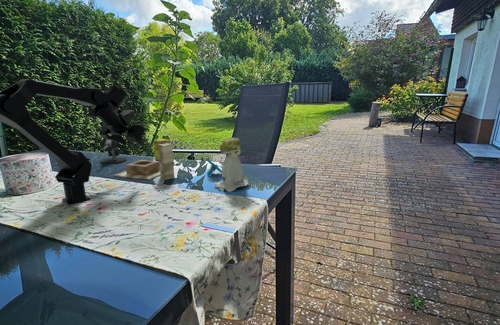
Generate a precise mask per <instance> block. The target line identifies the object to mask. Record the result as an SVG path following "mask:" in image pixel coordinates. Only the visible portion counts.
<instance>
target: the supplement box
mask: <svg viewBox="0 0 500 325" xmlns="http://www.w3.org/2000/svg"><path fill="white" fill-rule="evenodd" d="M170 141H171V140H170V139H168V138H167V139H166V138H162V139H161V138H160V139H154V140H153V148H154V149H153V150H154V161H159V151H158V145H159V144H166V143H167V144H171V142H170Z"/></svg>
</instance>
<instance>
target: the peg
mask: <svg viewBox="0 0 500 325" xmlns="http://www.w3.org/2000/svg"><path fill="white" fill-rule="evenodd" d="M173 150H174V149H173V144H172V143H170V144H167V143H166V144H159V145H158V151H159V163H160V178H161V179H162V180H171V179H174V178H175V168H174V165H175V164H174V152H173Z"/></svg>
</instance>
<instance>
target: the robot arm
mask: <svg viewBox="0 0 500 325" xmlns="http://www.w3.org/2000/svg"><path fill="white" fill-rule="evenodd" d="M35 96H42V97H49V98H56V99H57V98H58V99H63V100H69V101H72V102H74V103H77V104H78V105H79V104H80V105H83V106H92V108H89V109H88V110H89V111H88V117H89V118H98V119H99V120H100V121H101V122H102V127H101V129H100V130H99V135H100V137H101V138H102V139H104V138H106V139H107V140H112V141H115V142H117V144H120V145H123V146H127V145H128V143H127V141H126V140H125V138H124V137H123V135H122V134H126V138H128V139H129V141H130V142H132V143H134V144H136V145H138V146H140V147H142V148H144V147H145V142H144V139H143V134H144V133H145V131H146V127H145V126H144V125H143V124H135V123H134V124H132V125H131V123H130V122H131V121H133V120H135V119H136V114H135V112H134V110H133V109H123V110H122V109H119V108H120V107H121V106H122V105H123V103H124V102H125V101H126V99H127V98H128V93H127V92H126V91H125V90H123V89H122V88H120V87H118V86H117V85H116V84H110V85H109V87H108V89H106V90H105V92H103V91H102V90H101V89H100V88H98V87H72V86H67V85H62V84H61V85H60V84H56V83H51V82H47V81H46V82H45V81H39V80H36V79H33V78H22V79H19V80H18V81H16V82H15V83H14V84H12V85H11V86H8V87H6V88H5V89H3V90H0V122H1V123H3V124H6V125H8V126H10V127H12V128H15V130H17V131H18V132H19V133H21V134H22V135H24V136H25V137H26V138H27V139H29V140H30V141H31V142H32V143H34V144H35V145H36V146H38V147H39V148H40V149H41V150H43V151H44V152H45V153H46V154H47V155H49V156H50V157H51V158H53V159H54V160H55V162H56V163H57V166H58V167H59V171H58V172H57V174H56V175H55V176H54V177H55V180H56V181H57V183H63V184H62V185H63V190H64V195H65V196H64V197H62V199H61V200H62V201H63V202H64V203H65V204H67V205H72V204H76V203H80V202H81V203H82V202H85V201H89V200H90V199H91V196H88V195H87V194H86V188H85V183H88V182H89V181H90V176H91V171H92V163H91V159H90V158H88V157H86V155H85V154H84V153H83V152H81V151H76V150H69V148H66V147H65V145H63V144H62V143H61V142H60V141H59V140H57V139H56V138H55V137H54V136H53V135H51V134H50V133H49V132H48V131H47V130H45V128H43V127H42V126H41V125H39V124H38V122H36V121H35V120H34V119H33V118H32V116H31V114H30V111H29V110H28V108H27V107H26V106H27V105H29V103H31V101H32V100H33V99H34V97H35ZM130 125H131V127H129V126H130Z"/></svg>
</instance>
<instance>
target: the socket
mask: <svg viewBox="0 0 500 325" xmlns="http://www.w3.org/2000/svg"><path fill="white" fill-rule="evenodd" d="M125 169H126V170H124V171H121V172H119V173H116V174H114V175H113V176H114V177H116V178H127V179H128V178H129V179H134V180H135V179H138V180H146V181H151V180H153V179H156V178H157V177H161V175H160V163H159V161H155V160H149V159H140V160H139V159H138V160H137V161H133V162H130V163H127V164H125Z"/></svg>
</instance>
